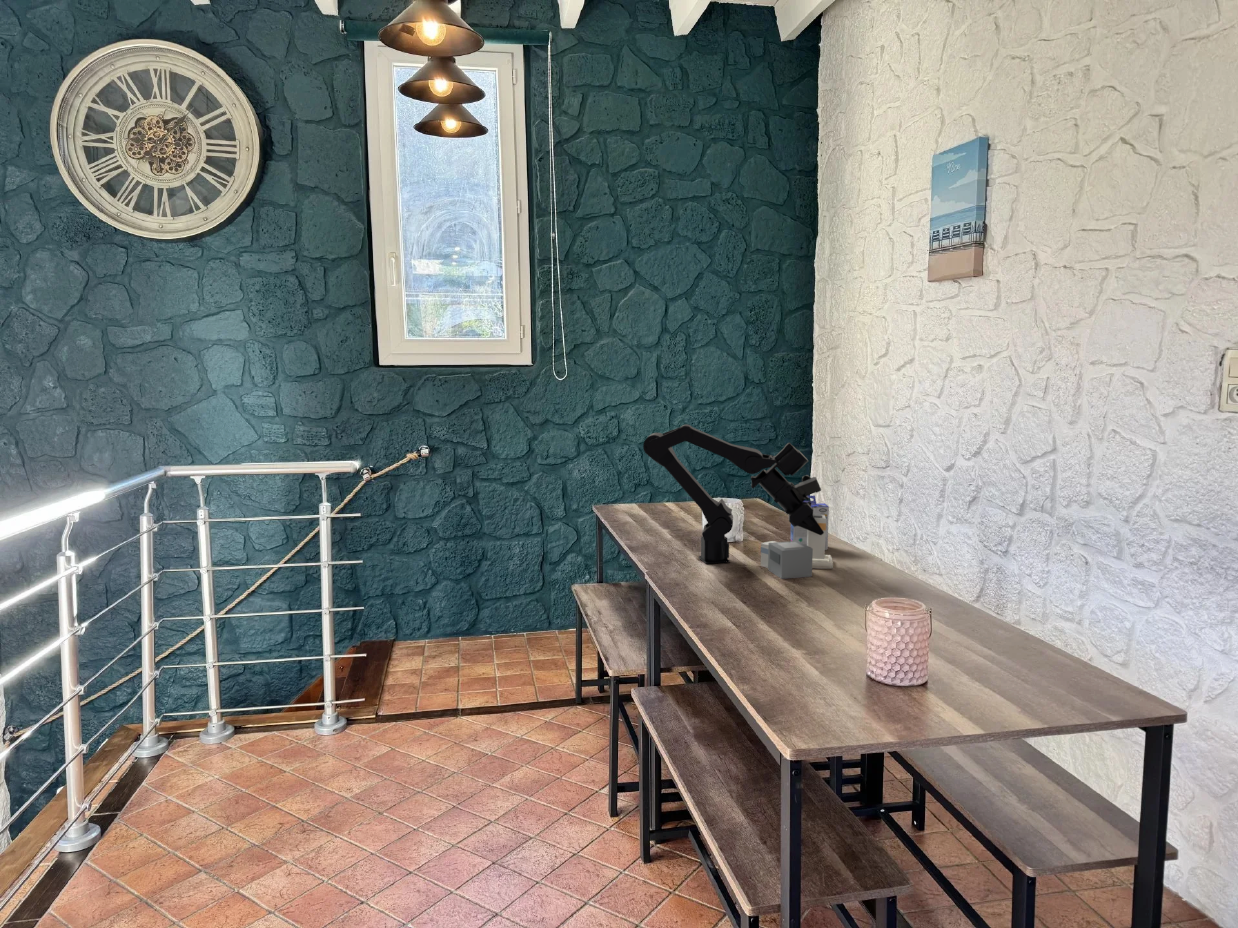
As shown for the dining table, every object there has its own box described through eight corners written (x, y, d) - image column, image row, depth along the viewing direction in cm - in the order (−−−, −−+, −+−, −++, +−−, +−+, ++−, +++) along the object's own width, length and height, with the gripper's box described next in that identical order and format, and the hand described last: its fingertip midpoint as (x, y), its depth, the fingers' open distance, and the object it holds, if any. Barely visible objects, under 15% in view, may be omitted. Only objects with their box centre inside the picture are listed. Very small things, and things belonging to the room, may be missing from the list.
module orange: (807, 558, 208) (808, 516, 206) (806, 554, 212) (807, 512, 211) (824, 559, 207) (826, 516, 206) (823, 554, 211) (824, 513, 210)
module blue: (772, 569, 205) (772, 546, 205) (760, 565, 209) (760, 543, 208) (784, 566, 208) (785, 544, 207) (772, 563, 211) (773, 540, 210)
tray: (800, 567, 207) (800, 561, 207) (798, 559, 215) (798, 553, 214) (833, 568, 205) (833, 563, 205) (830, 560, 213) (830, 554, 213)
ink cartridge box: (824, 545, 229) (825, 494, 227) (828, 550, 224) (830, 498, 222) (789, 545, 230) (790, 494, 227) (792, 550, 224) (794, 498, 222)
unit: (780, 578, 197) (781, 550, 196) (767, 570, 205) (768, 542, 204) (812, 576, 199) (813, 547, 198) (798, 567, 207) (798, 540, 206)
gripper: (804, 472, 198) (849, 518, 198) (800, 461, 216) (841, 503, 216) (770, 503, 200) (815, 548, 200) (769, 489, 218) (810, 531, 218)
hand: (821, 531), depth 209 cm, fingers closed on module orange, 4 cm apart
